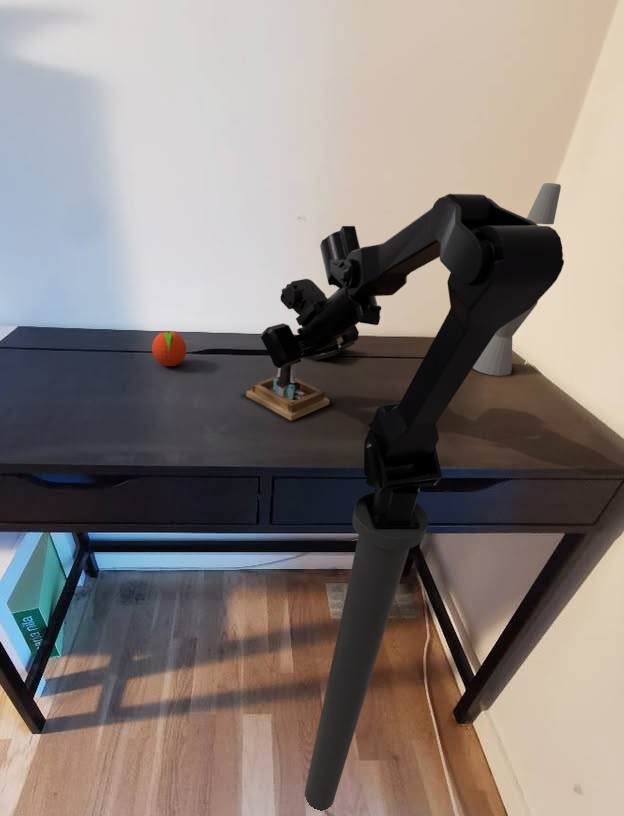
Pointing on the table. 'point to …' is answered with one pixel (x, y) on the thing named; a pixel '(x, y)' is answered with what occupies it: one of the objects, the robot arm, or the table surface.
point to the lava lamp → (500, 347)
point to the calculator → (329, 354)
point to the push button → (287, 382)
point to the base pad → (286, 406)
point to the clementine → (169, 348)
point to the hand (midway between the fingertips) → (285, 359)
